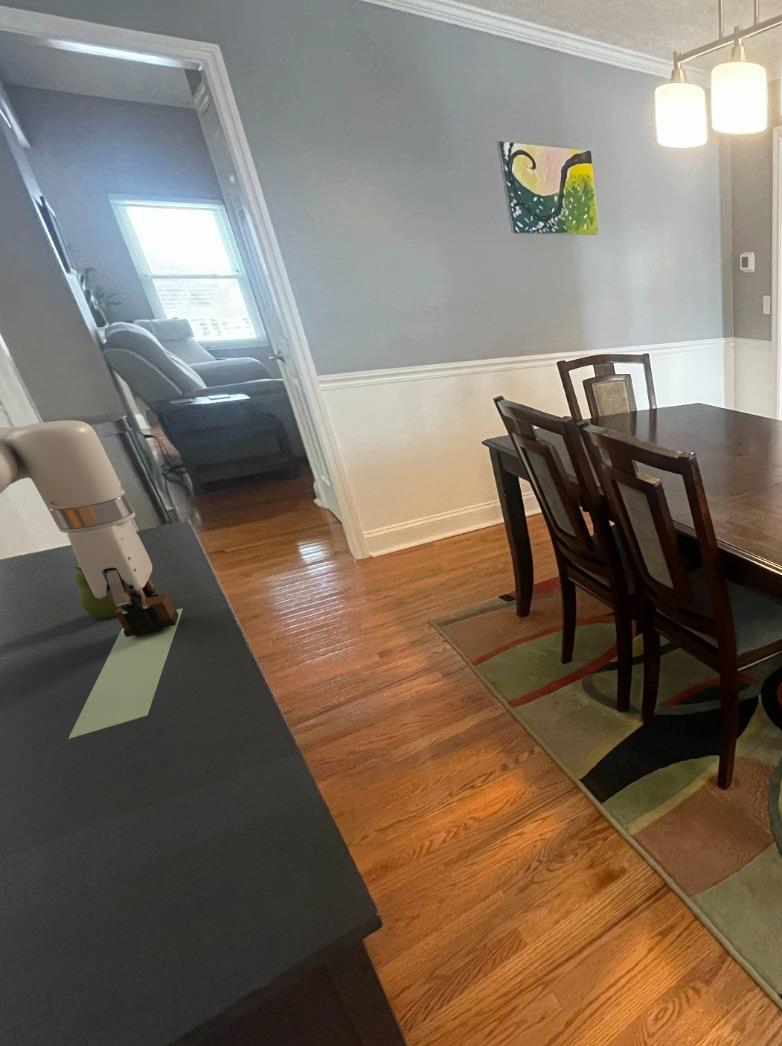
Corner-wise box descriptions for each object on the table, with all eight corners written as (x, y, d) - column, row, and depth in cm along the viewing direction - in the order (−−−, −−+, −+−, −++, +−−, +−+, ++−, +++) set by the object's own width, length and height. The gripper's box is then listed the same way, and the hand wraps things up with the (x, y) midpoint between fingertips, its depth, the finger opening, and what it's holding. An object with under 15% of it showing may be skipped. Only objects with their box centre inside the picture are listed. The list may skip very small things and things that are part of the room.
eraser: (126, 637, 87) (113, 613, 85) (131, 626, 89) (118, 603, 88) (175, 625, 90) (164, 602, 88) (179, 615, 92) (168, 592, 91)
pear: (86, 629, 92) (54, 572, 88) (101, 614, 96) (70, 558, 92) (134, 620, 94) (104, 563, 90) (146, 605, 98) (118, 551, 94)
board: (71, 745, 69) (67, 738, 68) (128, 626, 92) (125, 621, 92) (150, 721, 72) (147, 715, 72) (185, 613, 96) (182, 607, 96)
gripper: (72, 502, 86) (129, 611, 94) (35, 538, 74) (105, 661, 81) (141, 491, 90) (191, 597, 98) (118, 524, 78) (177, 642, 85)
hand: (152, 624), depth 89 cm, fingers closed on eraser, 3 cm apart
